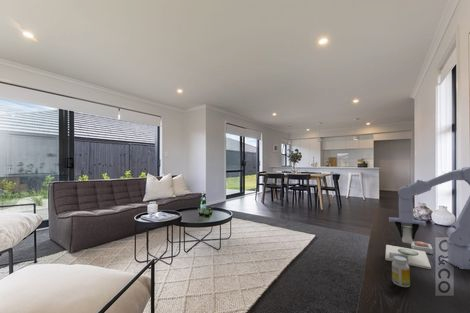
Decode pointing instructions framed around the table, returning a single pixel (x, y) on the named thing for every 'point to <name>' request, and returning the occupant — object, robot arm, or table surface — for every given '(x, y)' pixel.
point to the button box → (422, 248)
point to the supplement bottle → (400, 272)
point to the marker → (407, 234)
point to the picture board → (408, 256)
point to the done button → (421, 244)
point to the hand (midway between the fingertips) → (407, 237)
